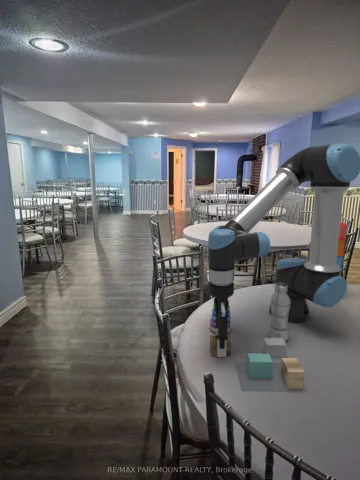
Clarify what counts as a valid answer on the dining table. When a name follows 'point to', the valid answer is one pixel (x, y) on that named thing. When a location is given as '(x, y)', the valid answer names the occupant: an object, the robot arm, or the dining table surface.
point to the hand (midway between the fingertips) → (220, 351)
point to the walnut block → (214, 345)
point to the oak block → (292, 373)
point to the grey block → (274, 347)
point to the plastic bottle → (280, 312)
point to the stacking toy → (212, 321)
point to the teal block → (259, 365)
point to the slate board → (263, 380)
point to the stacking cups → (341, 245)
